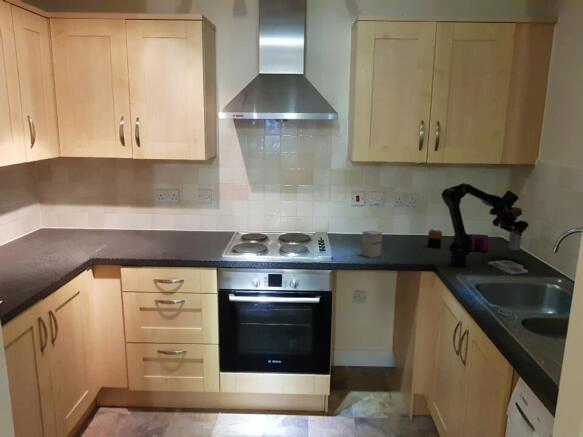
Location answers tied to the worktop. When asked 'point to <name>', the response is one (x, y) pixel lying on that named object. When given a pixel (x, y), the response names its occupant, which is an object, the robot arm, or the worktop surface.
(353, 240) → the worktop surface
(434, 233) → the battery
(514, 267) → the grey tray
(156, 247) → the worktop surface
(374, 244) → the pinkish brown cylinder
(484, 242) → the mounting bracket
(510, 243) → the grey rectangular block
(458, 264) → the robot arm
